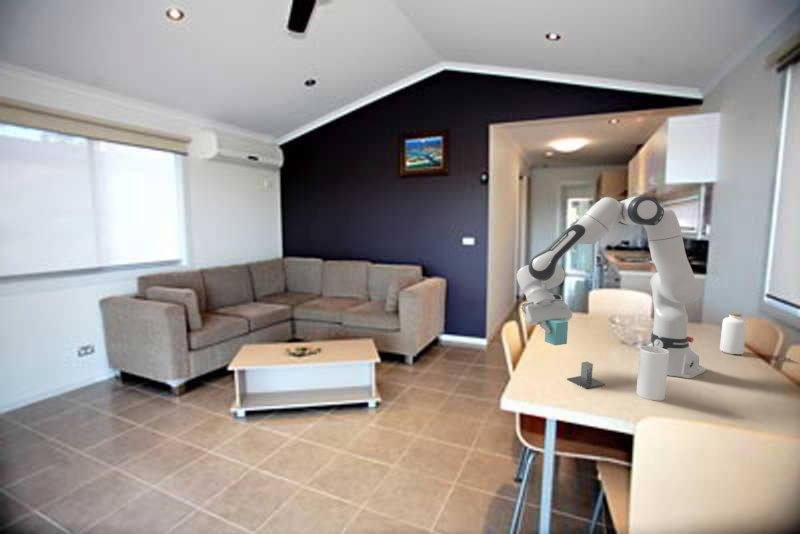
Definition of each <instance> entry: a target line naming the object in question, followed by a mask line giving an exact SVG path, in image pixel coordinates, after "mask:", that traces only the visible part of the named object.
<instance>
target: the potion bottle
mask: <svg viewBox="0 0 800 534" xmlns="http://www.w3.org/2000/svg"><path fill="white" fill-rule="evenodd" d="M747 324H748V323H747V321H746V320H745V319H743V318H742V314H741V313H738V312H729V314H728V317H724V318H723V319H722V324H721V334H720V340H719V341H720V342H719V351H721V352H722V351H723V352H722V353H724V352H726V353H725V354H727V353H730V354H729V355H732V354H741V355H743V354H744V349H745V341H746V335H747V333H746V332H747Z"/></svg>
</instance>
